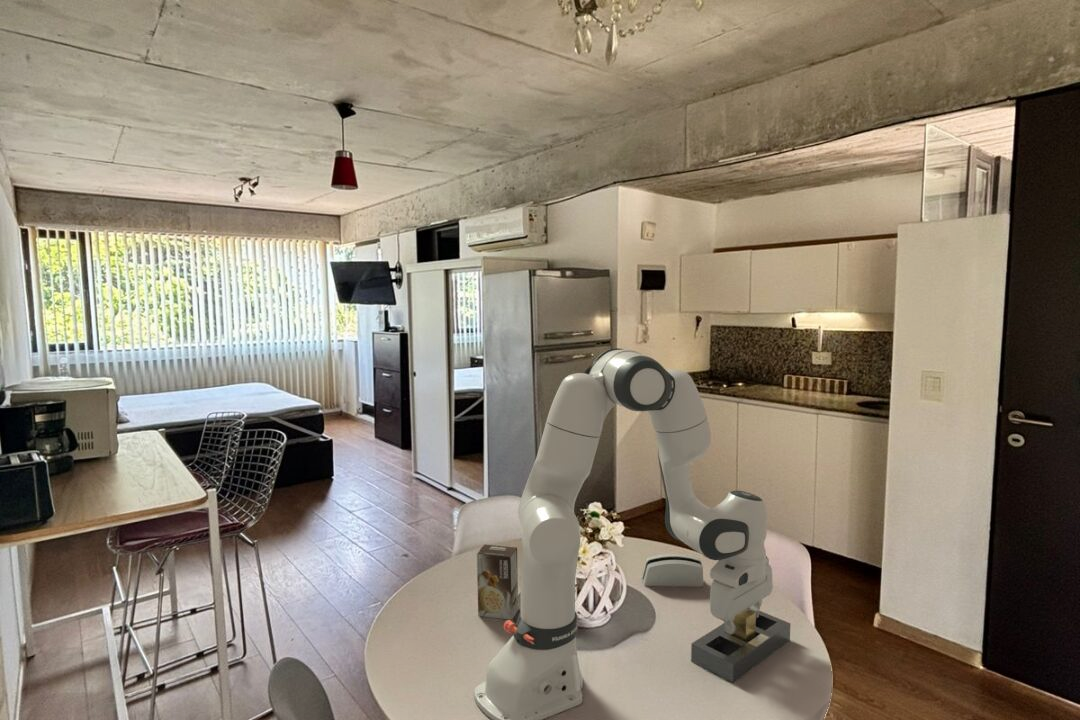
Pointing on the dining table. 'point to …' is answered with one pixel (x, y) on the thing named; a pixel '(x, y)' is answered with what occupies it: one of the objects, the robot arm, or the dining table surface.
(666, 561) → the grey rounded block
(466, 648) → the dining table surface
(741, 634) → the brass peg
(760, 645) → the grey peg holder
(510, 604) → the grey food box
